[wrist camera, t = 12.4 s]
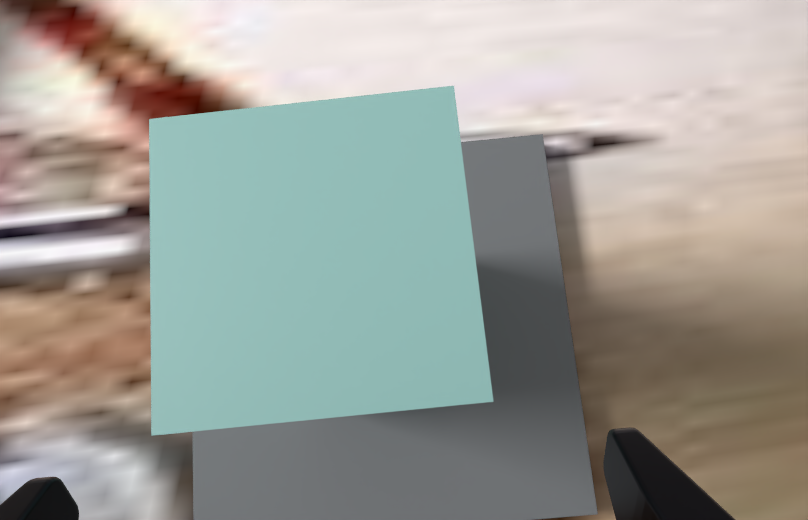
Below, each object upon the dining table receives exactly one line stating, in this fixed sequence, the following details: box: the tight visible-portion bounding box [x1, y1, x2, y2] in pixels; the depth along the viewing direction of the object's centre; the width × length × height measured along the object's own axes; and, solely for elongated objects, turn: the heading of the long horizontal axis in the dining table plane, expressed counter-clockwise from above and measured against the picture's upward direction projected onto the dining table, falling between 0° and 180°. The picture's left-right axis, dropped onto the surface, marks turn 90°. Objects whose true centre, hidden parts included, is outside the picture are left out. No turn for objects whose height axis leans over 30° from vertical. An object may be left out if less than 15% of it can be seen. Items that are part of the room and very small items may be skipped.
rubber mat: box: [193, 134, 598, 520], centre depth 22 cm, size 14×14×1 cm
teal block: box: [149, 86, 493, 435], centre depth 15 cm, size 5×5×13 cm
